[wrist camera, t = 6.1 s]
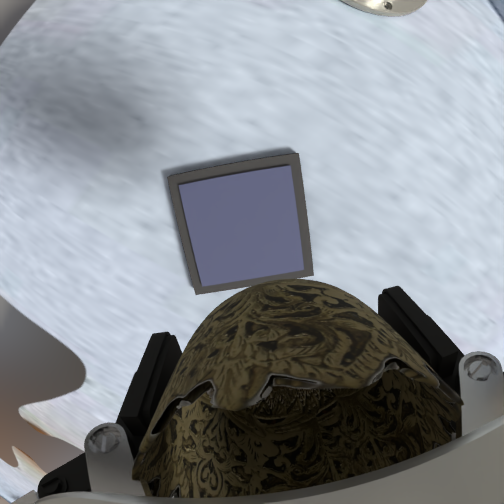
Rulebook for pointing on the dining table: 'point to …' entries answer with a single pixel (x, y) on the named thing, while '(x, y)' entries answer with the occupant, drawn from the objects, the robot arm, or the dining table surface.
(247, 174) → the ink pad
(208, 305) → the dining table surface
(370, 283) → the dining table surface
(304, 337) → the cup
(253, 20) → the dining table surface
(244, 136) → the dining table surface
